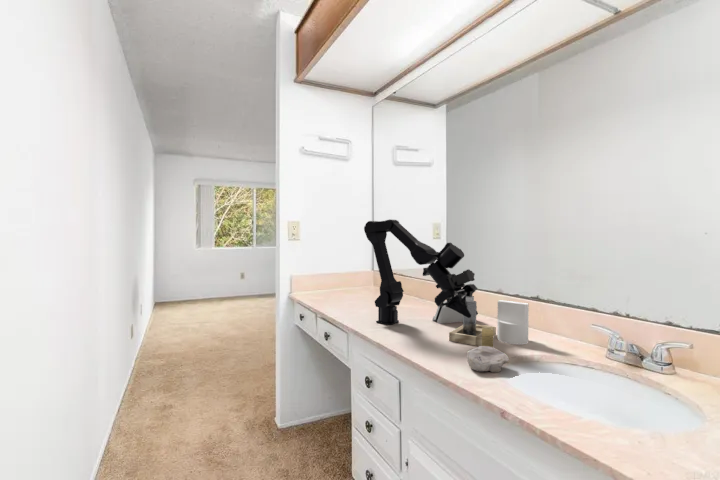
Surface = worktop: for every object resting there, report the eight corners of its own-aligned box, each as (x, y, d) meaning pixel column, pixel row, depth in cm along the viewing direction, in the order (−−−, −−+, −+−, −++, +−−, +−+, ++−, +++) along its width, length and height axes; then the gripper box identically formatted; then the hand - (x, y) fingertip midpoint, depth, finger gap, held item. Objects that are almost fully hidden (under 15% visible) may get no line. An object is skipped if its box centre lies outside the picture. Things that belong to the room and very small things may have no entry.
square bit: (481, 353, 101) (481, 328, 101) (482, 350, 104) (482, 326, 104) (493, 354, 100) (493, 329, 100) (493, 351, 103) (493, 326, 103)
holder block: (449, 340, 113) (449, 332, 113) (466, 329, 127) (466, 322, 127) (481, 346, 108) (481, 338, 108) (495, 334, 121) (495, 326, 121)
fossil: (517, 359, 88) (487, 348, 85) (507, 384, 88) (476, 374, 84) (492, 346, 96) (464, 335, 93) (483, 369, 96) (454, 359, 92)
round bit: (462, 337, 113) (463, 297, 113) (462, 333, 117) (463, 295, 117) (476, 338, 112) (476, 298, 112) (475, 335, 116) (476, 295, 115)
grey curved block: (467, 317, 146) (473, 295, 142) (474, 324, 142) (480, 301, 138) (431, 320, 140) (436, 297, 137) (437, 327, 136) (442, 304, 133)
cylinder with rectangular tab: (532, 339, 115) (532, 302, 115) (522, 346, 108) (522, 306, 108) (503, 334, 121) (503, 298, 121) (492, 340, 114) (493, 302, 114)
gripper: (443, 263, 110) (477, 304, 103) (472, 260, 123) (504, 296, 116) (421, 286, 116) (452, 327, 108) (451, 281, 129) (480, 317, 122)
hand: (473, 316), depth 113 cm, fingers closed on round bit, 4 cm apart
